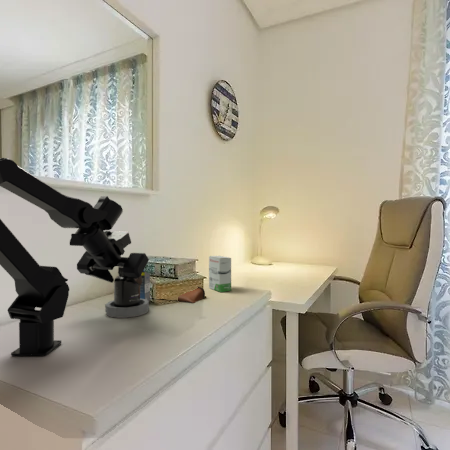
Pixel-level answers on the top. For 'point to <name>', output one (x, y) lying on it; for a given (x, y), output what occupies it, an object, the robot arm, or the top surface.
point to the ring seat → (127, 309)
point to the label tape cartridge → (145, 286)
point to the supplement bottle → (125, 291)
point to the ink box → (220, 273)
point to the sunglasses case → (192, 296)
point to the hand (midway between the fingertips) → (126, 282)
